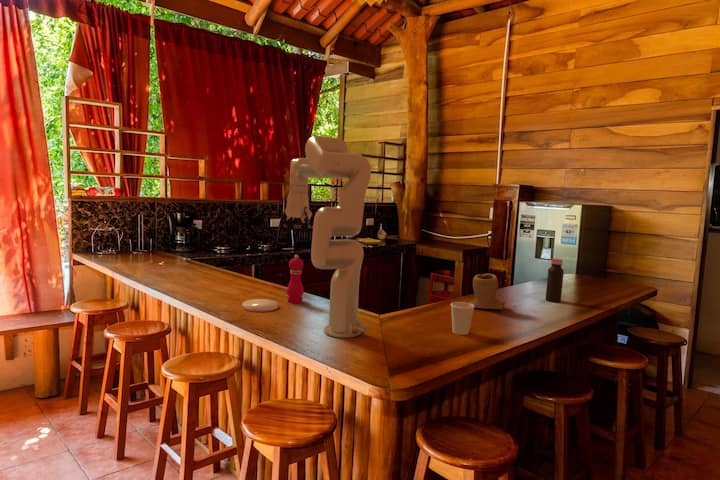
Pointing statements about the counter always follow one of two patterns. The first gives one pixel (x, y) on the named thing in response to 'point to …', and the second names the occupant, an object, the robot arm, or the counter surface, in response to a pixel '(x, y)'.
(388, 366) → the counter surface
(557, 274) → the bottle
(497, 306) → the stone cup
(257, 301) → the disc
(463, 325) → the dixie cup
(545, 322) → the counter surface
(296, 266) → the pepper mill
